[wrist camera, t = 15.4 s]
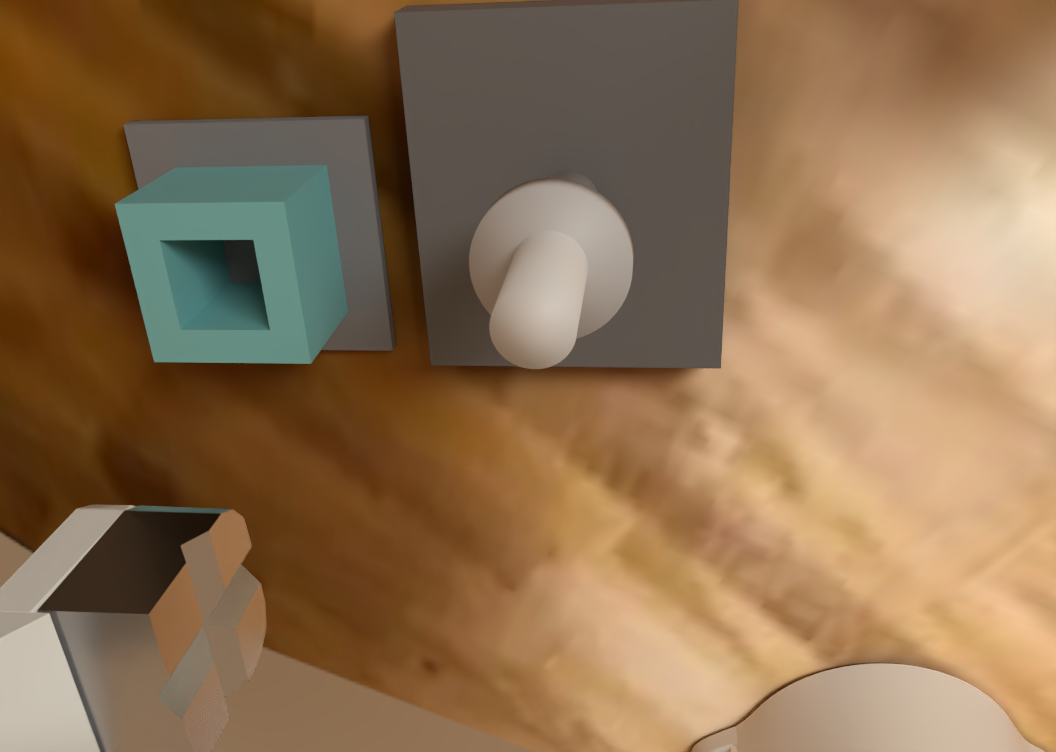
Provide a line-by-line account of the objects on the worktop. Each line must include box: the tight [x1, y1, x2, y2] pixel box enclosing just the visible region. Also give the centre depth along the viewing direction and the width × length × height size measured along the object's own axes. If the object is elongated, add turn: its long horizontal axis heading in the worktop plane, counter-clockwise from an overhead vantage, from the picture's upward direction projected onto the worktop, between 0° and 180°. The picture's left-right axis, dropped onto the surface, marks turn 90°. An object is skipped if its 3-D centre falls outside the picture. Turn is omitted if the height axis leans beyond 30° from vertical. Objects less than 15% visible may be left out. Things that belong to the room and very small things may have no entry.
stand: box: [394, 0, 738, 369], centre depth 32 cm, size 14×12×14 cm
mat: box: [123, 116, 396, 351], centre depth 41 cm, size 10×10×1 cm
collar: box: [115, 165, 348, 364], centre depth 38 cm, size 6×6×5 cm
